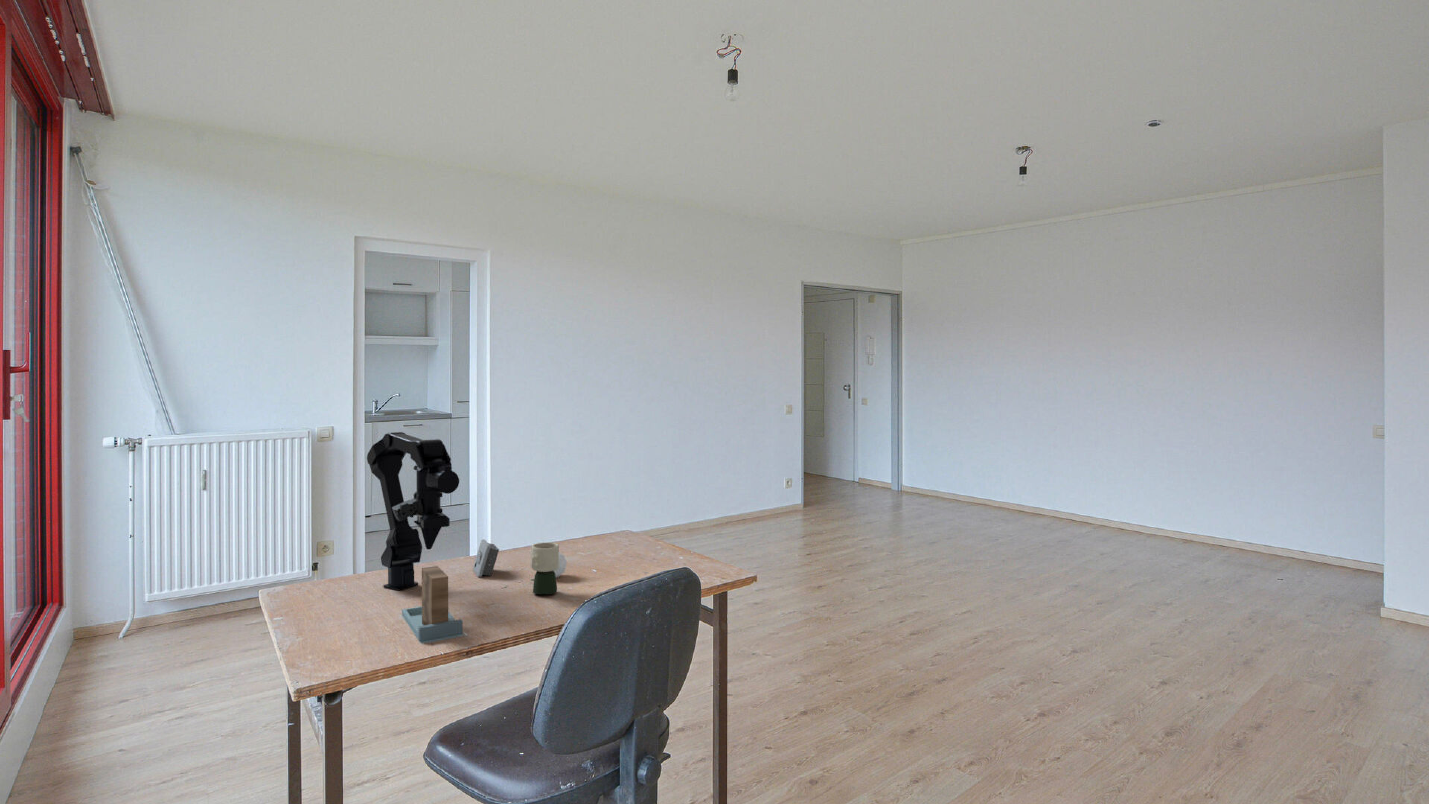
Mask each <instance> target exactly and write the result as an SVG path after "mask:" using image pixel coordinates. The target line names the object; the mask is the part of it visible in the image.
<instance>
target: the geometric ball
mask: <svg viewBox="0 0 1429 804" xmlns="http://www.w3.org/2000/svg"><path fill="white" fill-rule="evenodd" d="M567 564H568V563H567V559H566V557H565V555H564V554H563V553H561V552H559V566H558V569H556V570H554V572H555V575H556V579H558V578H559V577H561V575H562V574H564V573H565V571H566V567H567Z"/></svg>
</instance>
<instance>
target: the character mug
mask: <svg viewBox="0 0 1429 804" xmlns="http://www.w3.org/2000/svg"><path fill="white" fill-rule="evenodd" d="M559 547H560V545H559V544H558V543H556V542H550V541H549V542H538V543H537V542H536V543H534V544H532V545H531V563H530V567H531V568H532V570H533V571H536V572H535V574H534V580H533V585H532V586H533V587H532V593H533V594H535V595H536V594H537V595H538V594H539V595H541V596H543V595H551V594H552V595H553V594H555V593H557V592H558V585H557V583H558V582H557V578H556V575H555V572H554V570H556V569H558V566H559V551H560V550H559V549H560V548H559Z"/></svg>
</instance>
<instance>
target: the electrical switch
mask: <svg viewBox="0 0 1429 804" xmlns="http://www.w3.org/2000/svg"><path fill="white" fill-rule="evenodd" d="M499 550H500V549H499V548H498V547H497V545H495V544H494V543H489V542H488V541H487V540H486V539H483V538H482V539H481V540H480V544H479V546H478V550H477V553H476V556H475V560H474V563H473V565H472V566H473V567H472V570H473V572H474V574H475V575H476V576H477V577H478V578H482V576H489V577H490V576H491V577H492V574H493V571H494V569H495V565H496V562H497V558H498V555H499V552H500V551H499Z"/></svg>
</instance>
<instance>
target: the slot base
mask: <svg viewBox="0 0 1429 804" xmlns="http://www.w3.org/2000/svg"><path fill="white" fill-rule="evenodd" d="M401 616H402V617H403V619H404V621H405V622H406V624H407V626H408V627H409V628H410V629H411V630H410V631H412V633H413V635H414V636H415V637H416V639H417V640H418V642H419V643H420V644H421V645H422V644H428V643H433V642H438V641H445V640H449V639H455V638H459V637H460V638H461V637H464V634H463V631H464V630H463V628H464V626H463V623H464V621H463V620H462V619H461V618H459V619H455V618H454V616H453V615H452V614H451V613H450V611H448V621H447V622H441V623H435V624H429V625H423V624H422V605H421V606H414V607H409V608H403V609H401Z"/></svg>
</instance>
